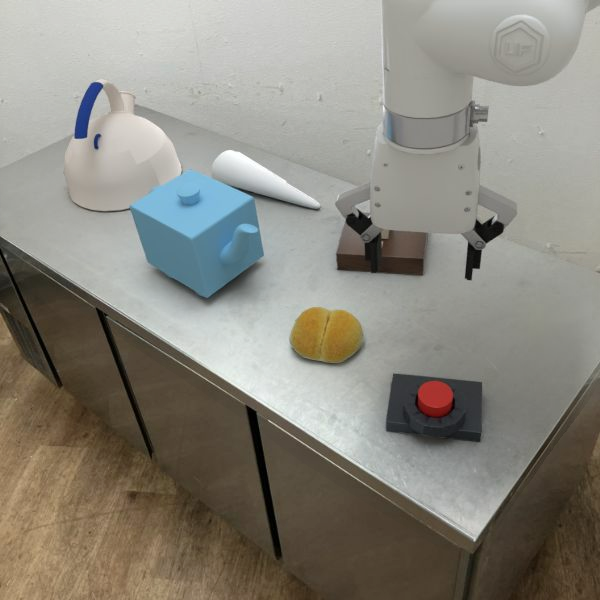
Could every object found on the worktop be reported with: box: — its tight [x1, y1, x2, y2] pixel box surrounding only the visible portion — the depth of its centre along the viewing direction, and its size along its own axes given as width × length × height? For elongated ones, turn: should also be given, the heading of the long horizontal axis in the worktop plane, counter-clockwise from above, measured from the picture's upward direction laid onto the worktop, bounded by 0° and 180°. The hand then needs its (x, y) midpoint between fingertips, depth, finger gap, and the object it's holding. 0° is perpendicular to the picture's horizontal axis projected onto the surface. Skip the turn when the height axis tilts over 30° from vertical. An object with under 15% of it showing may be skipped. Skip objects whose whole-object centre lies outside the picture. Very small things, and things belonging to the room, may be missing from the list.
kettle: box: [63, 78, 183, 212], centre depth 110 cm, size 20×21×18 cm
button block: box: [385, 373, 483, 443], centre depth 71 cm, size 10×8×4 cm
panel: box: [335, 211, 429, 276], centre depth 94 cm, size 12×12×3 cm
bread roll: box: [288, 306, 364, 364], centre depth 80 cm, size 8×9×4 cm
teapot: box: [129, 168, 265, 299], centre depth 89 cm, size 22×11×14 cm, turn 48°
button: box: [418, 381, 453, 418], centre depth 69 cm, size 4×4×2 cm
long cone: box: [210, 149, 322, 210], centre depth 106 cm, size 6×6×19 cm
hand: (421, 268), depth 68 cm, fingers open, 9 cm apart
